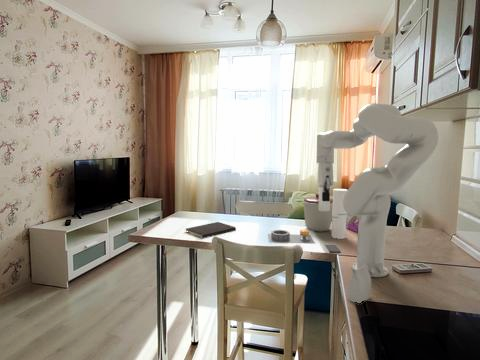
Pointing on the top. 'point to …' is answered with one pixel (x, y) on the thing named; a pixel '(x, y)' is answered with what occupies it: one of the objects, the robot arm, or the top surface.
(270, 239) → the plate
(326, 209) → the cylinder
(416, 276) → the top surface
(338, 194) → the cylindrical container
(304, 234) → the plunger
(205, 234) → the hardcover book
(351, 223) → the candy bar box
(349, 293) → the white doll dress
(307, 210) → the canister
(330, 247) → the mat
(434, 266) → the top surface
